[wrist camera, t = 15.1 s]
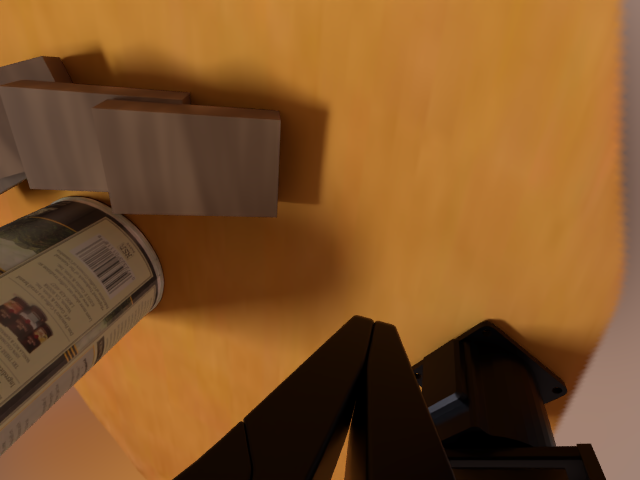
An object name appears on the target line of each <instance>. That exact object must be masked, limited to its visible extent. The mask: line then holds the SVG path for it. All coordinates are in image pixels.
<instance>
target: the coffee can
mask: <svg viewBox="0 0 640 480" xmlns="http://www.w3.org/2000/svg"><path fill="white" fill-rule="evenodd" d="M163 287H164V278H163V272H162V268H161V265H160V262H159V260H158V257H157V255H156V253H155V252H154V250H153V248H152V247H151V245H150V244H149V242H148V241H147V239H146V238H145V237H144V235H143V234H142V233H141V232H140V231H139V230H138V228H137V227H136V226H134V225H133V224H132V223H131V222H130V221H129V220H128V219H127V218H125V217H124V216H123V215H122V214H113V211H112V208H110V207H109V206H107V205H105V204H103V203H101V202H98V201H96V200H93V199H89V198H85V197H65V198H61V199H59V200H57V201H55V202H53V203H52V204H51V205H48V206H46V207H44V208H42V209H40V210H37V211H35V212H33V213H31V214H29V215H26V216H24V217H21V218H19V219H17V220H15V221H13V222H11V223H9V224H6V225H4V226H2V227H0V456H1V455H2V454H3V453H4V452H5V451H6V450H7V449H8V448H9V447H11V446H12V444H13V443H15V442H16V441H17V440H18V439H19V438H20V437H21V436H22V435H23V434H24V433H25V432H26V431H27V430H28V429H29V428H30V427H31V426H32V425H33V424H34V423H35V422H36V421H37V420H38V419H39V418H40V417H41V416H42V415H43V414H44V413H45V412H46V411H47V410H48V409H49V408H50V407H51V406H52V405H53V404H55V402H57V401H58V400H59V399H60V398H61V397H62V396H63V395H64V394H65V393H66V392H67V391H68V390H69V389H70V388H71V387H72V386H73V385H74V384H75V383H76V382H77V381H78V380H79V379H80V378H81V377H82V376H83V375H84V374H85V373H86V372H87V371H89V370H90V369H91V368H92V367H93V366H94V365H95V364H96V363H97V362H98V361H99V360H100V359H101V358H102V357H103V356H104V355H105V354H106V353H107V352H108V351H109V350H110V349H111V348H112V347H113V346H114V345H115V344H116V343H117V342H118V341H119V340H120V339H121V338H122V337H123V336H124V335H125V334H127V333H128V332H129V331H130V330H131V329H132V328H133V327H134V326H135V325H136V324H137V323H138V322H139V321H140V320H141V319H142V318H143V317H144V316H145V315H146V314H147V313H149V312H150V311H152V310H153V309H154V308H155V307H156V306H157V305H158V303H159V302H160V300H161V298H162V293H163Z"/></svg>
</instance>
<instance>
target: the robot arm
mask: <svg viewBox="0 0 640 480" xmlns="http://www.w3.org/2000/svg"><path fill="white" fill-rule="evenodd" d="M484 330H490V331H489V332H484ZM416 373H419V374H416ZM419 385H420V386H421V387H422V392H421V390H420V387H419ZM555 387H559V388H555ZM566 393H567V388H566V385H565V383H564V382H563V381H562V380H561V379H560V378H558V377H557V376H556V375H555V374H554V373H552V372H551V371H550V370H549V369H548V368H546V367H545V366H544V365H543V364H542V363H540V362H539V361H538V360H537V359H535V358H534V357H533V356H532V355H531V354H529V353H528V352H527V351H526V350H525V349H523V348H522V347H521V346H520V345H518V344H517V343H516V342H515V341H514V340H512V339H511V338H510V337H509V336H508V335H506V334H505V333H504V332H503V331H502V330H500V329H499V328H498V327H497V326H495V325H494V324H493V323H491V322H487V321H486V322H481V323H479V324H478V325H476V326H475V327H473V328H471V329H470V330H468V331H467V332H465V333H464V334H462V335H461V336H459V337H457V338H456V339H452V340H451V341H449V342H448V343H446V344H444V345H443V346H441V347H440V348H438V349H437V350H435V351H434V352H432V353H430V354H429V355H427V356H426V357H424V359H423V360H422V361H420V362H418V363H417V364H415V365H414V366H412V367H411V364H410V362H409V359H408V357H407V354H406V352H405V349H404V347H403V344H402V342H401V339H400V337H399V334H398V332H397V329H396V327H395V326H394V325H392V324H388V323H384V322H381V321H376V322H375V323H374V321H373V320H372V319H370V318H366V317H362V316H358V315H355V316H353V317H352V318H351V319H350V320H349V321H348V322H347V323H346V324H344V325H343V326H342V327H341V328H340V329H339V330H338V331H337V332H336V333H335V334H334V335H333V336H332V337H330V338H329V339H328V340H327V341H326V342H325V343H324V344H323V345H322V346H321V347H320V348H319V349H318V350H317V351H315V352H314V353H313V354H312V355H311V356H310V357H309V358H308V359H307V360H306V361H305V362H304V363H303V364H301V365H300V366H299V367H298V368H297V369H296V370H295V371H294V372H293V373H292V374H291V375H290V376H289V377H288V378H286V379H285V380H284V381H283V382H282V383H281V384H280V385H279V386H278V387H277V388H276V389H275V390H274V391H273V392H271V393H270V394H269V395H268V396H267V397H266V398H265V399H264V400H263V401H262V402H261V403H260V404H259V405H257V406H256V407H255V408H254V409H253V410H252V411H251V412H250V413H249V414H248V415H247V416H246V417H245V418H244V419H243V422H242V421H241V422H239V423H238V424H237V425H236V426H235V427H234V428H232V429H231V430H230V431H229V432H228V433H227V434H226V435H225V436H224V437H223V438H222V439H221V440H219V441H218V442H217V443H216V444H215V445H214V446H213V447H211V448H210V449H209V450H208V451H207V452H206V453H205V454H203V455H202V456H201V457H200V458H199V459H198V460H197V461H195V462H194V463H193V464H192V465H190V466H189V467H188V468H187V469H185V470H184V471H183V472H181V473H180V474H179V475H178V476H176V477H175V478H174V479H172V480H331V478H332V475H333V472H334V469H335V467H336V464H337V461H338V458H339V456H340V453H341V450H342V447H343V445H344V442H345V439H346V436H347V433H348V430H349V426H350V423H351V426H350V433H349V440H348V449H347V459H346V469H345V478H344V480H606V478H605V476H604V473H603V471H602V469H601V466H600V464H599V462H598V459H597V457H596V455H595V452H594V450H593V448H592V445H591V444H577V446H559V447H558V446H556V444H555V440H554V437H553V433H552V430H551V426H550V423H549V419H548V416H547V412H546V409H545V405H544V404H546V403H548V402H550V401H552V400H555V399H557V398H559V397H561V396H563V395H565V394H566ZM353 411H354V412H353ZM352 415H353V416H352ZM351 419H352V421H351Z"/></svg>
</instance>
